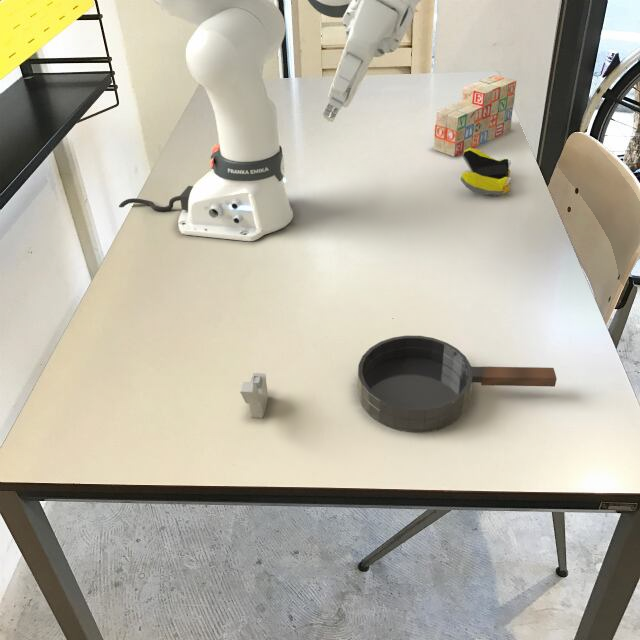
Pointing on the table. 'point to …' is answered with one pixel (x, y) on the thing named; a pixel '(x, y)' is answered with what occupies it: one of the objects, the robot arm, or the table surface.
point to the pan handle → (514, 376)
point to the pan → (414, 383)
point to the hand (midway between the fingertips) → (332, 106)
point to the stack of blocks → (475, 116)
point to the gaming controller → (486, 173)
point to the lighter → (255, 394)
